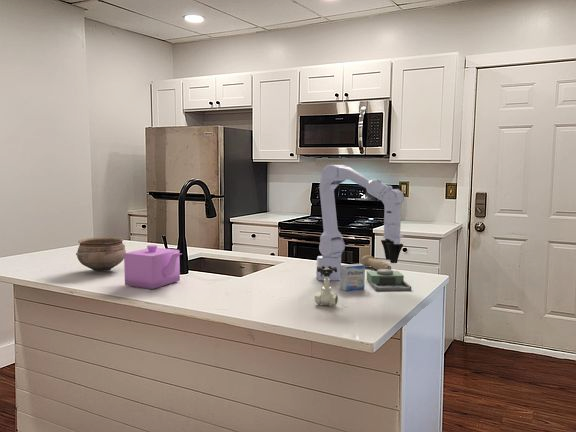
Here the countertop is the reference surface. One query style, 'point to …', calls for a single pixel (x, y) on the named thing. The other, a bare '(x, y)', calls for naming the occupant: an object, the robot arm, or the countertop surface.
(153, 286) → the teapot
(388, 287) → the gray rectangular tray
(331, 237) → the robot arm
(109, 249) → the cooking pot
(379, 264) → the handle
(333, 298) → the valve
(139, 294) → the countertop surface
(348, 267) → the medicine box
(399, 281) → the green block with dome
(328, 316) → the countertop surface
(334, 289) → the countertop surface
